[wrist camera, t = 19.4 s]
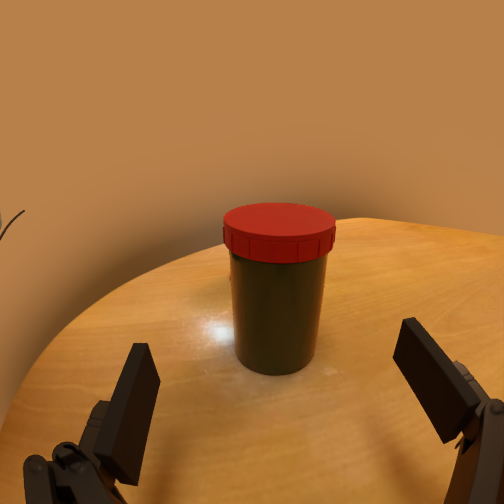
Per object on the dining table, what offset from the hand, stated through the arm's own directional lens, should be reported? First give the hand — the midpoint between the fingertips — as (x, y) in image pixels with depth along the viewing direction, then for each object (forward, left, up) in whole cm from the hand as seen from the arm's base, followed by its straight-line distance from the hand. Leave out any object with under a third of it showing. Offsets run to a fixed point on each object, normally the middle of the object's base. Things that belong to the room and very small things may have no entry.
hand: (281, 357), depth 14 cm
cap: (-6, +7, +4) cm, 10 cm away
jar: (-6, +7, -8) cm, 12 cm away
